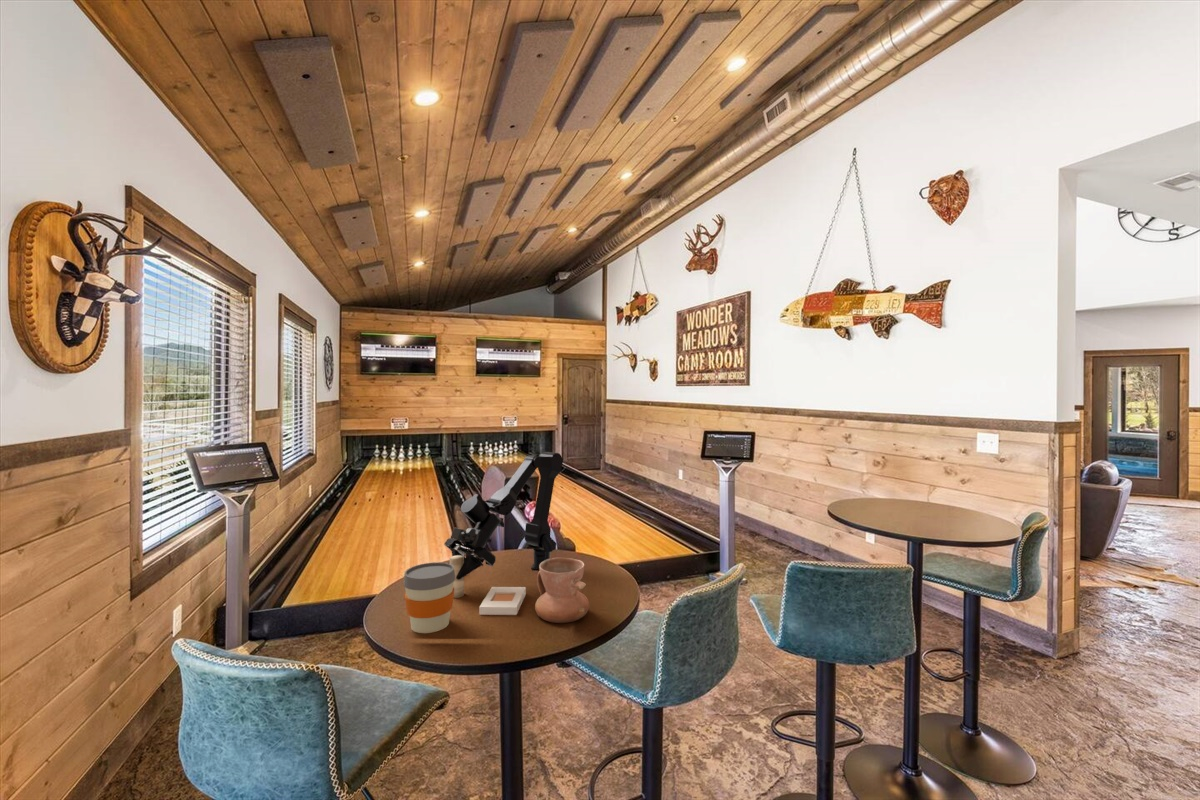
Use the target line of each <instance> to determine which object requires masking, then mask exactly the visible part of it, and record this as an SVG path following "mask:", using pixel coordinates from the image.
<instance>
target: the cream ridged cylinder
mask: <svg viewBox="0 0 1200 800" xmlns="http://www.w3.org/2000/svg"><path fill="white" fill-rule="evenodd" d="M464 557H465V555H464V556H461V555H457V556H452V555H451V556H450V557H449V560H450V564H451V565H453V566H454V572H455V580H454V583H453V588H454V597H453V599H458V598H461V597H462V598H463V596H464V595H465V576H464V577H463V578H461V579H460V580H458V579H456V577H457V575H458V573H459V571H460V569H461V567H462V566H463V564H464Z"/></svg>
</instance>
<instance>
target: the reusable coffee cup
mask: <svg viewBox="0 0 1200 800" xmlns="http://www.w3.org/2000/svg"><path fill="white" fill-rule="evenodd" d="M448 563H449V562H437V561H434V562H426V563H420V564H416V565H413V566H410V567H409V568H407V569H406V570H405V571H404V574H403V575H404V576H403V587H404V589H405V594H404V598H405V599H404V601H405V606H406V607H405V608H406V612H407V613H406V614H407V615H408V616H409V620H410V628H411V631H413V632H414V633H418V634H430V633H435V632H438V631H441V630H443V629H445V628H447V626H449V624H450V618H451V617H450V615H451V610H452V609H453V606H454V605H453V603H454V598H453V597H454V588H453V583H454V580H455V572H454V566H453V565H451V564H448Z"/></svg>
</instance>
